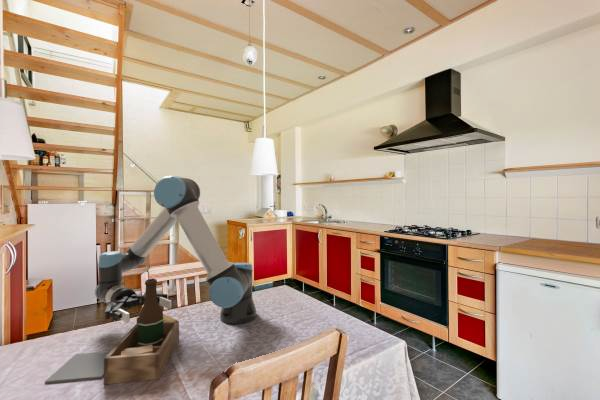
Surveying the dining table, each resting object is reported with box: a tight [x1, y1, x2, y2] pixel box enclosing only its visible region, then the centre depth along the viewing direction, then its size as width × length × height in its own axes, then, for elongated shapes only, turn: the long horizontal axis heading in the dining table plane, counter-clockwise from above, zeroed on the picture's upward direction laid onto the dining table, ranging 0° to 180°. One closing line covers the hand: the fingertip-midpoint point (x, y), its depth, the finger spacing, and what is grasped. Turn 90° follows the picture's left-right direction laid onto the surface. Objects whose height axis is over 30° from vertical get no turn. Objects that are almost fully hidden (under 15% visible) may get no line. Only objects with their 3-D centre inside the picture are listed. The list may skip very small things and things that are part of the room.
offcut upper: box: [121, 345, 153, 355], centre depth 83 cm, size 8×4×3 cm, turn 119°
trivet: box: [44, 350, 112, 384], centre depth 86 cm, size 14×14×1 cm
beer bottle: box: [137, 278, 164, 348], centre depth 93 cm, size 8×8×24 cm
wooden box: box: [103, 320, 180, 385], centre depth 89 cm, size 14×22×7 cm, turn 10°
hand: (150, 311), depth 93 cm, fingers open, 13 cm apart
